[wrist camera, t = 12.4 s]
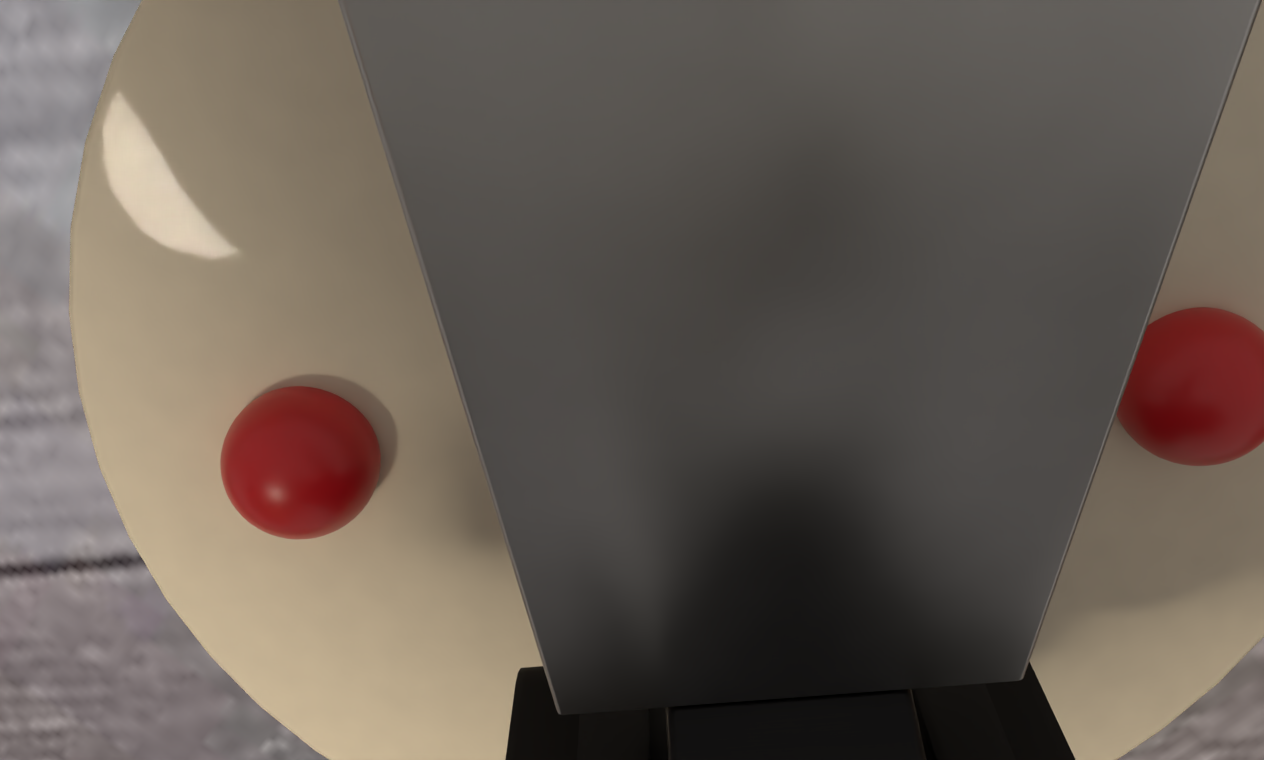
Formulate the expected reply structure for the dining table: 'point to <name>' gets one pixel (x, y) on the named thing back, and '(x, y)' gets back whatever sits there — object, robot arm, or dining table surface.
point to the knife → (792, 323)
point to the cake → (440, 434)
